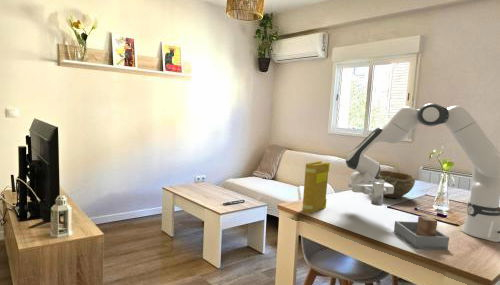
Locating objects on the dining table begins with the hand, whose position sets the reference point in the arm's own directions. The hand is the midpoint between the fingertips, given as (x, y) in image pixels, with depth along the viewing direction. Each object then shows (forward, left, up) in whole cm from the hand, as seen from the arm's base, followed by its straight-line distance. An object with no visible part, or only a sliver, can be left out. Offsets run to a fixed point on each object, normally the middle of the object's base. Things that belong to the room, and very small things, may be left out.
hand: (378, 192), depth 153 cm
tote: (-13, +15, -17) cm, 26 cm away
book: (+24, -23, -17) cm, 37 cm away
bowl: (-35, -57, -17) cm, 69 cm away
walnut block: (-13, +19, -16) cm, 28 cm away
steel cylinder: (0, -1, -6) cm, 6 cm away
